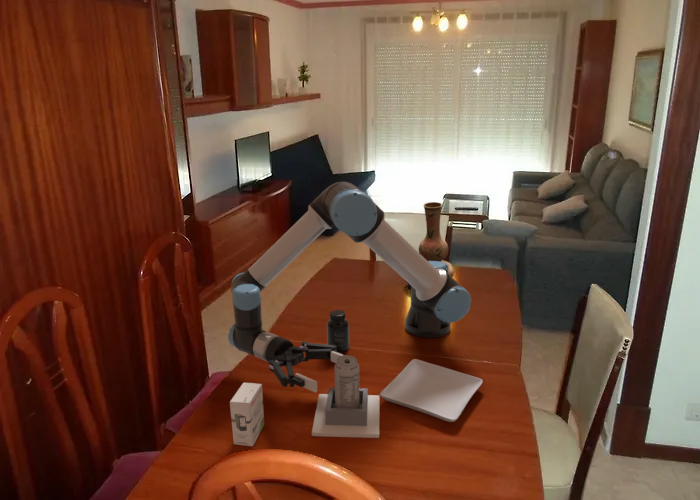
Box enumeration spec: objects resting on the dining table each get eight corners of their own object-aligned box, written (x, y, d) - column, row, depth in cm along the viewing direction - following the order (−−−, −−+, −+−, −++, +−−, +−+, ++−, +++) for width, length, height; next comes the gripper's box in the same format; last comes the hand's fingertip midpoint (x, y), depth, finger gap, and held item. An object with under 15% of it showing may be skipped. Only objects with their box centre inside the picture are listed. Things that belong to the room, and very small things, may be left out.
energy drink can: (356, 404, 137) (356, 352, 132) (361, 418, 131) (361, 365, 127) (333, 407, 136) (332, 355, 131) (337, 421, 130) (336, 367, 126)
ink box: (246, 422, 132) (242, 380, 128) (265, 424, 131) (262, 382, 128) (232, 444, 124) (228, 401, 121) (253, 447, 123) (249, 403, 120)
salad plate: (455, 431, 129) (455, 419, 127) (377, 404, 139) (377, 393, 138) (483, 389, 146) (484, 378, 144) (413, 368, 156) (413, 357, 155)
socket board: (379, 398, 141) (379, 382, 140) (379, 437, 126) (379, 420, 124) (319, 397, 142) (318, 380, 140) (311, 436, 127) (311, 418, 125)
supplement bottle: (352, 345, 169) (352, 310, 165) (343, 355, 163) (343, 319, 159) (333, 340, 172) (332, 306, 168) (323, 350, 166) (322, 315, 162)
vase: (390, 289, 212) (392, 203, 201) (417, 273, 229) (419, 192, 218) (445, 303, 199) (449, 212, 188) (468, 284, 216) (474, 200, 205)
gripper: (305, 344, 156) (364, 367, 143) (239, 381, 137) (300, 411, 125) (304, 320, 153) (364, 342, 141) (237, 355, 135) (299, 383, 122)
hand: (334, 374), depth 133 cm, fingers open, 13 cm apart
